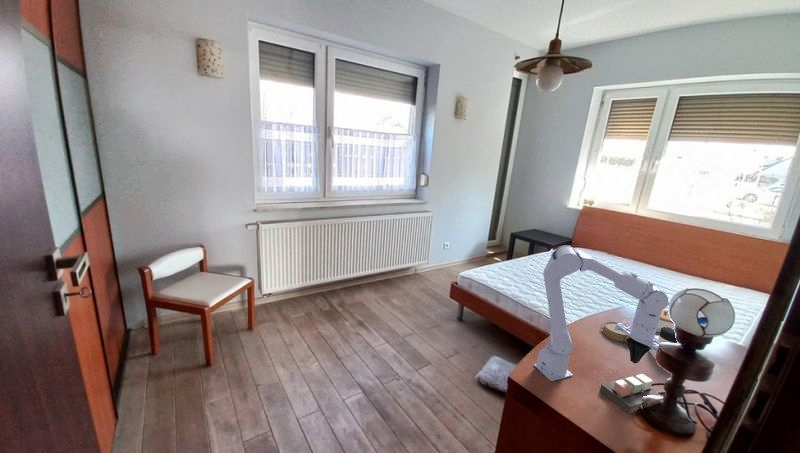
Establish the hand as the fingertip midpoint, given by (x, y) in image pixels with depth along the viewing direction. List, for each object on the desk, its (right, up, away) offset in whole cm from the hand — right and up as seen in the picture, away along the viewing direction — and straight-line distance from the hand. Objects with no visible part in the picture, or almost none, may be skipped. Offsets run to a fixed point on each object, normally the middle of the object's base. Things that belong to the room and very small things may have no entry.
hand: (634, 361), depth 96 cm
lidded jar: (+40, -3, +37) cm, 55 cm away
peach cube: (-6, -8, -3) cm, 11 cm away
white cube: (+2, -8, 0) cm, 8 cm away
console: (-2, -11, -1) cm, 11 cm away
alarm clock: (+19, -4, +31) cm, 36 cm away
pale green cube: (-2, -8, -1) cm, 8 cm away
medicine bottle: (+25, -7, +18) cm, 32 cm away
